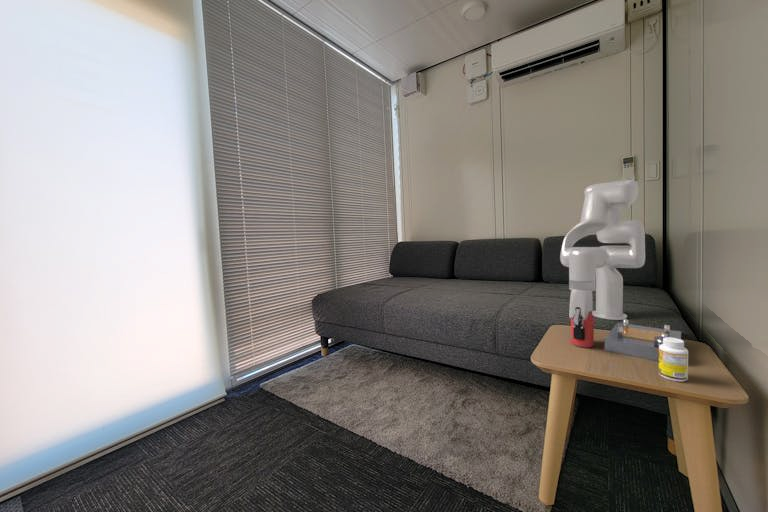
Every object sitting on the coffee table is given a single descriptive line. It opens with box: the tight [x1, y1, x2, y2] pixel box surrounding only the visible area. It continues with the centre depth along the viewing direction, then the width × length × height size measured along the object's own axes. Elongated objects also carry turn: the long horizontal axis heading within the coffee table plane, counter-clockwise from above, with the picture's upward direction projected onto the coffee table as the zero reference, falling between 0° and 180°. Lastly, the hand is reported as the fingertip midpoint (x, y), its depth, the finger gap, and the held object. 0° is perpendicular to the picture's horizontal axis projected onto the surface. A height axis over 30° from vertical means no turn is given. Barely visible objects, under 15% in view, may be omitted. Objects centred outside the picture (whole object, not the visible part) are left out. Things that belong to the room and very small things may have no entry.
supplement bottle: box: [658, 337, 689, 382], centre depth 78 cm, size 6×6×10 cm
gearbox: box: [604, 319, 682, 362], centre depth 99 cm, size 25×17×7 cm
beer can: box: [570, 310, 595, 349], centre depth 102 cm, size 7×7×12 cm
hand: (582, 335), depth 103 cm, fingers closed on beer can, 6 cm apart
